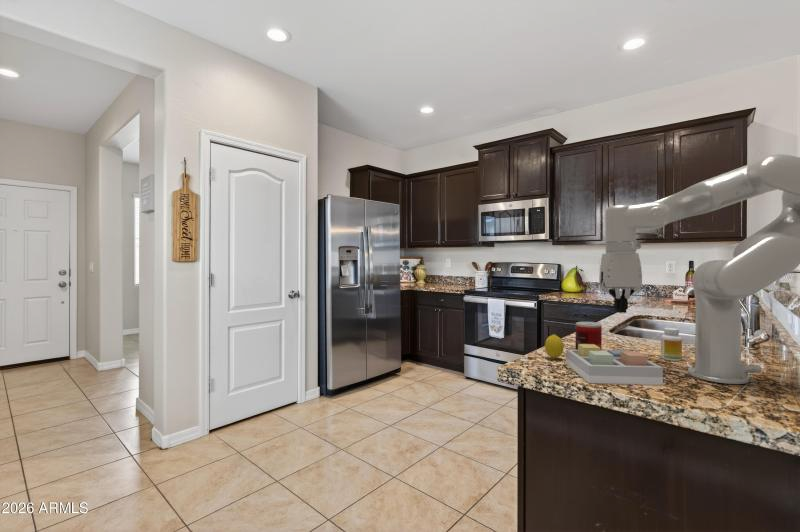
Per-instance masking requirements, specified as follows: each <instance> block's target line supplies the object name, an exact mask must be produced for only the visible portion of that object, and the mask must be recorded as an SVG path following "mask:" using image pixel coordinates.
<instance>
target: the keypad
mask: <svg viewBox="0 0 800 532" xmlns="http://www.w3.org/2000/svg"><path fill="white" fill-rule="evenodd" d="M608 350H609V349H605V350H604V349H601V350H600V351H607V352H608ZM628 351H629V352H631V351H630V350H628ZM566 366H568V367H569V368H570V369H572V370H573V371H574V372H575V373H577V374H578V376H580V378H582V379H583V378H584V379H583V380H584V381H586V382H587V383H588V384H602V385H603V384H606V385H607V384H609V385H642V386H643V385H644V386H645V385H646V386H647V385H648V386H664V367H663V366H660V365H659V364H656V363H655V362H653V361H650V360H648V359H647V366H626V365H625V364H623V363H621V357H613V365H593V364H591V363H590V362H589V357H581V356H580V355H579V354H578V350H576V349H566Z"/></svg>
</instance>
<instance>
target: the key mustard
mask: <svg viewBox="0 0 800 532" xmlns="http://www.w3.org/2000/svg"><path fill="white" fill-rule="evenodd" d="M589 351H600V347H598V346H596V345H594V344H578V354H579V355H580V356H581V357H589Z"/></svg>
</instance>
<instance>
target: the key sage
mask: <svg viewBox="0 0 800 532" xmlns="http://www.w3.org/2000/svg"><path fill="white" fill-rule="evenodd" d="M589 362H590V363H591V364H593V365H613V355H612V354H610V353H609V352H607V351H589Z"/></svg>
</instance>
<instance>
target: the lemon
mask: <svg viewBox="0 0 800 532" xmlns="http://www.w3.org/2000/svg"><path fill="white" fill-rule="evenodd" d="M544 349H545V352H546V354H547V355H548V356H549V357H550V358H552V359H554V360H556V359H557V358H559V357H561V356H562V354H563V352H564V343H563V340H562V339H561V338H560V337H559V336H558V335H556V334H554V333H553V334H551V335H549V336H547V338H546V340H545V343H544Z"/></svg>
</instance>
